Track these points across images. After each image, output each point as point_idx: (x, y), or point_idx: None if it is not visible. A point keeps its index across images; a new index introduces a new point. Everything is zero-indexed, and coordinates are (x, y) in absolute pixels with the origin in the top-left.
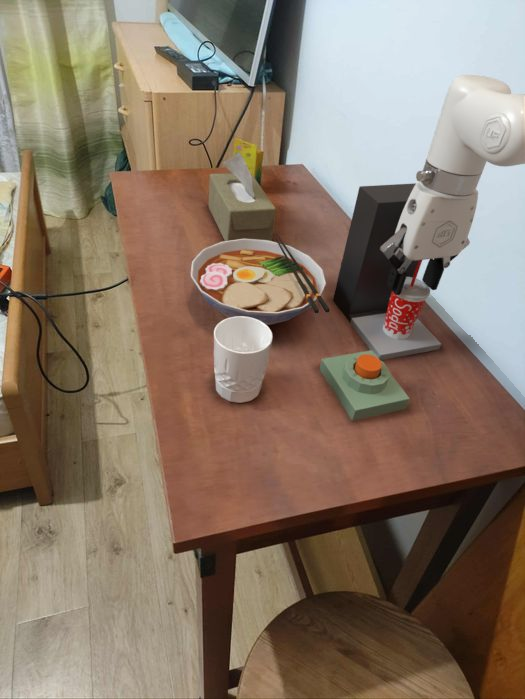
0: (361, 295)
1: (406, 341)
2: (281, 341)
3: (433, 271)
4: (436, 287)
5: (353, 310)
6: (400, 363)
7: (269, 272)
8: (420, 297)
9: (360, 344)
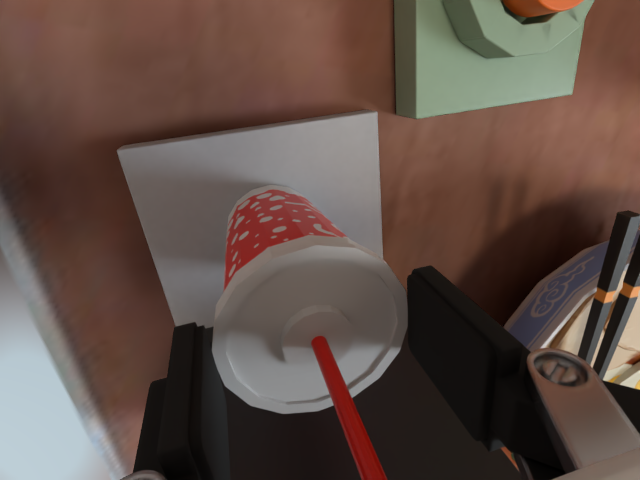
0: None
1: (257, 173)
2: (563, 208)
3: (214, 437)
4: (180, 333)
5: None
6: (302, 87)
7: None
8: (311, 249)
9: (387, 188)
